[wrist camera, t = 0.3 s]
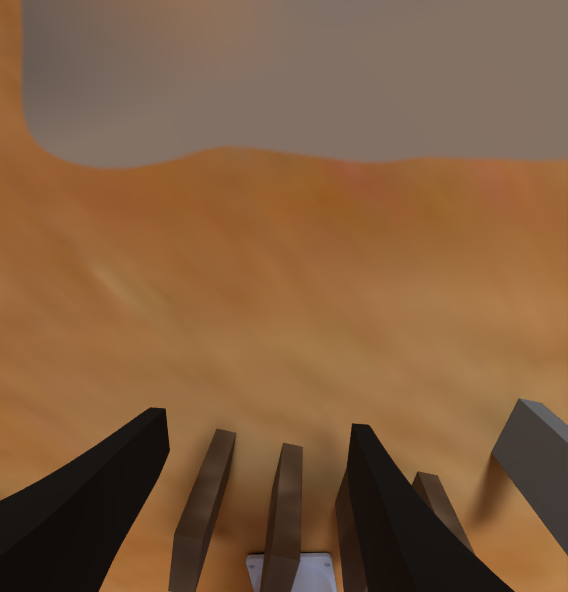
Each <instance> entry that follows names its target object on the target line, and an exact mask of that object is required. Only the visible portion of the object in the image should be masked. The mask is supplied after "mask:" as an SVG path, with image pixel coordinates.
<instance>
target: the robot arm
mask: <svg viewBox="0 0 568 592" xmlns="http://www.w3.org/2000/svg"><path fill="white" fill-rule="evenodd" d="M169 452H170V447H169V438H168V428H167V418H166V409H165V408H152V407H150V408H149V409H147V410H146V411H144V412H143V413H141V414H140V415H138V416H137V417H136V418H134V419H133V420H131V421H130V422H129V423H127V424H126V425H124V426H123V427H122V428H120V429H119V430H117V431H116V432H114V433H113V434H112V435H110V436H109V437H107V438H106V439H104V440H103V441H102V442H100V443H99V444H97V445H96V446H94V447H93V448H91V449H90V450H88V451H86V452H85V453H83V454H82V455H80V456H79V457H77V458H76V459H74V460H73V461H71V462H70V463H68V464H66V465H65V466H63V467H61V468H60V469H58V470H56V471H55V472H53V473H51V474H50V475H48V476H46V477H44V478H43V479H41V480H39V481H37V482H36V483H34V484H32V485H30V486H28V487H26V488H25V489H23V490H21V491H19V492H17V493H15V494H13V495H11V496H9V497H7V498H5V499H3V500H1V501H0V592H99V590H100V587H101V585H102V583H103V581H104V579H105V577H106V574H107V572H108V570H109V568H110V566H111V564H112V561H113V559H114V557H115V556H116V554H117V552H118V550H119V548H120V546H121V544H122V542H123V540H124V539H125V537H126V535H127V533H128V532H129V530H130V528H131V526H132V524H133V523H134V521H135V519H136V517H137V516H138V514H139V512H140V510H141V509H142V507H143V505H144V503H145V501H146V500H147V498H148V496H149V494H150V492H151V491H152V489H153V487H154V485H155V483H156V482H157V480H158V478H159V476H160V473H161V471H162V469H163V466H164V464H165V461H166V459H167V457H168V454H169ZM347 473H348V484H349V494H350V500H351V505H352V510H353V516H354V521H355V526H356V531H357V536H358V541H359V546H360V551H361V556H362V561H363V566H364V571H365V577H366V583H367V589H368V592H515V591H513V590H512V589H511V588H510V587H509V586H508V585H507V584H505V583H504V582H503V581H502V580H501V579H500V578H499V577H498V576H496V575H495V574H494V573H493V572H492V571H491V570H490V569H489V568H488V567H487V566H486V565H485V564H484V563H483V562H482V561H481V560H480V559H478V558H477V557H476V556H475V555H474V554H473V553H472V552H471V551H470V550H469V549H468V548H467V547H466V546H465V545H464V544H463V543H462V542H461V541H460V540H459V539H458V538H457V537H456V536H455V535H454V534H453V533H452V532H451V531H450V530H449V529H448V528H447V526H446V525H445V524H444V523H443V522H442V521H441V520H440V519H439V518H438V517H437V515H436V514H435V513H434V512H433V511H432V510H431V509H430V507H429V506H428V505H427V504H426V503H425V502H424V500H423V499H422V498H421V497H420V495H419V494H418V493H417V492H416V490H415V489H414V488H413V487H412V485H411V484H410V483H409V482H408V480H407V479H406V478H405V476H404V475H403V474H402V472H401V471H400V470H399V468H398V467H397V465H396V464H395V463H394V461H393V460H392V458H391V457H390V456H389V454H388V453H387V451H386V450H385V448H384V447H383V445H382V444H381V442H380V441H379V439H378V438H377V436H376V434H375V433H374V431H373V430H372V428H371V427H370V426H369V425H366V424H353V423H352V429H351V437H350V445H349V453H348V462H347ZM263 560H264V554H263V555H248V556H247V557H246V565H247V569H248V572H249V576H250V579H251V583H252V586H253V590H254V592H260V585H261V577H262V568H263ZM291 592H337V586H336V580H335V574H334V568H333V562H332V556H331V555H330V554H329V553H300V564H299V567H298V570H297V573H296V577H295V580H294V583H293V587H292V590H291Z"/></svg>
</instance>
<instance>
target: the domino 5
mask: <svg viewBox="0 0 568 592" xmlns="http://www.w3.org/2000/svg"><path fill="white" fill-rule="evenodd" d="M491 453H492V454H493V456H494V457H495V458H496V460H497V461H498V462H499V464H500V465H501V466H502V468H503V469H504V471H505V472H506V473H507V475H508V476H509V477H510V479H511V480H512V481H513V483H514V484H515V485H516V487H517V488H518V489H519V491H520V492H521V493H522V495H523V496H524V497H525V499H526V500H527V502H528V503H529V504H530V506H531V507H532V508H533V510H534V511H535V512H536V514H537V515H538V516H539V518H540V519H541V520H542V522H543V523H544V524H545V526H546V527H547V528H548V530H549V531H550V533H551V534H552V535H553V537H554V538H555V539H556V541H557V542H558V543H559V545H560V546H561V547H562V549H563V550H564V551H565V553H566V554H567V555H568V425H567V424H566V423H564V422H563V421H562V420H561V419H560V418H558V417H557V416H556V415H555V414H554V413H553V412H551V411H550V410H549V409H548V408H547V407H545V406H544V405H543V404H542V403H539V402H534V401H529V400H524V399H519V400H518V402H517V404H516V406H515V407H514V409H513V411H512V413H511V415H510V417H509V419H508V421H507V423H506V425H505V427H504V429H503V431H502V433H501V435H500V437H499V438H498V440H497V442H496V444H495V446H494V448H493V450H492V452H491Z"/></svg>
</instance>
